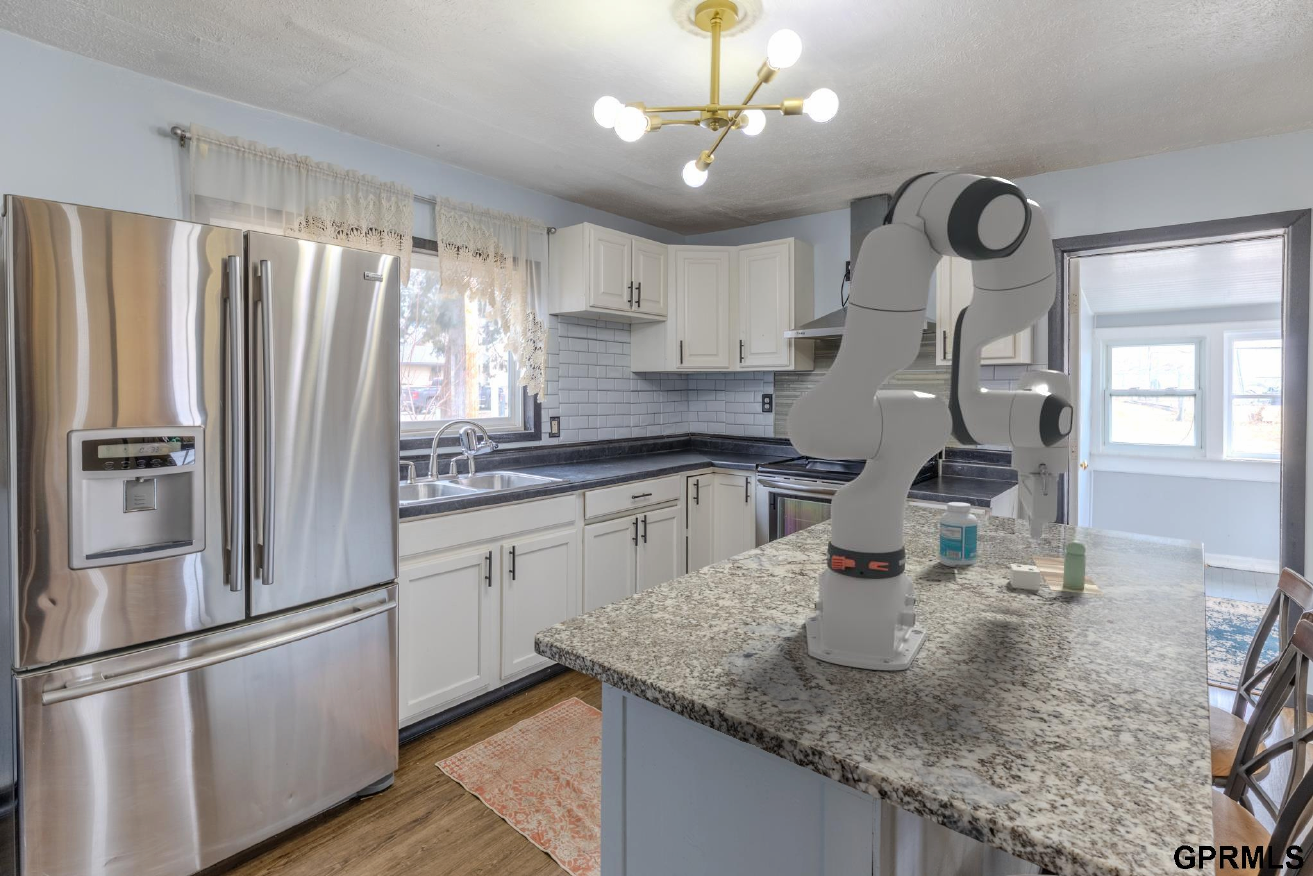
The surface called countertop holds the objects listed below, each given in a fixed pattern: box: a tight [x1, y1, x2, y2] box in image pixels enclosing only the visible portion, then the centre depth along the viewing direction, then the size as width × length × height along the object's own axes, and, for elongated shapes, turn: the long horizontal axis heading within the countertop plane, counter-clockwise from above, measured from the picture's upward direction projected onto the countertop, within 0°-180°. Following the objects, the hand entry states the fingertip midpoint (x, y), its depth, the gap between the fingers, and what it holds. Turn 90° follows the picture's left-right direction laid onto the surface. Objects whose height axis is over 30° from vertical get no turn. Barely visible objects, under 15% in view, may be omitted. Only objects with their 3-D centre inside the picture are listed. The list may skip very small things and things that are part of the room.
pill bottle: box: [939, 501, 978, 568], centre depth 144 cm, size 8×7×14 cm
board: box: [1028, 555, 1104, 596], centre depth 134 cm, size 26×9×1 cm, turn 158°
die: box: [1009, 563, 1041, 591], centre depth 127 cm, size 4×4×5 cm
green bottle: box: [1063, 540, 1087, 590], centre depth 125 cm, size 3×3×9 cm
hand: (1034, 535), depth 120 cm, fingers closed
